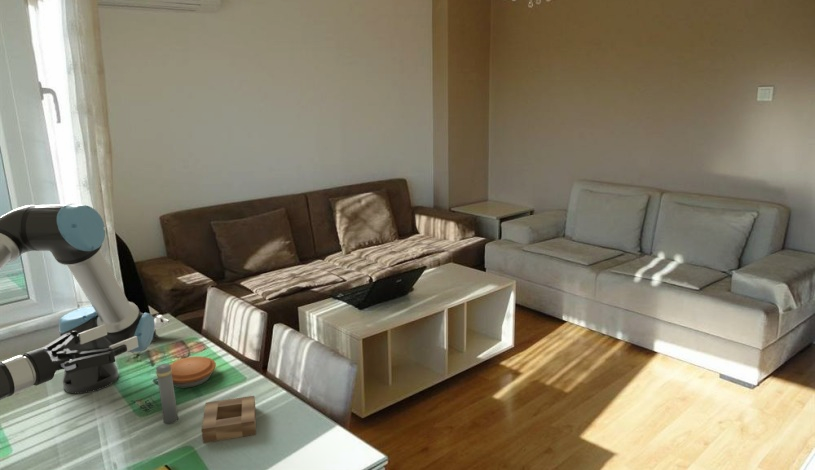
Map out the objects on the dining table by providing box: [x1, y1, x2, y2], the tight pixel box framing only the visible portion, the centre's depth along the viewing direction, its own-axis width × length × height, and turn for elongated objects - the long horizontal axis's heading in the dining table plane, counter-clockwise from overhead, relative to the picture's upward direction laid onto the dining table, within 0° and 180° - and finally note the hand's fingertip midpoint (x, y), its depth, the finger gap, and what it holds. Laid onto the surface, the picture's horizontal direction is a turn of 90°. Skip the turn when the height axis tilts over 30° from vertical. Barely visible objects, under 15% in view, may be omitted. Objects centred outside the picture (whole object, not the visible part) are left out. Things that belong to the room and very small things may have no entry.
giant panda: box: [151, 313, 170, 343], centre depth 207 cm, size 15×6×10 cm, turn 97°
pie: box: [169, 356, 217, 389], centre depth 179 cm, size 15×16×5 cm
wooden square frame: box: [201, 395, 257, 444], centre depth 154 cm, size 13×13×4 cm
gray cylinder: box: [155, 363, 179, 425], centre depth 156 cm, size 4×4×16 cm
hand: (121, 335), depth 142 cm, fingers open, 13 cm apart
